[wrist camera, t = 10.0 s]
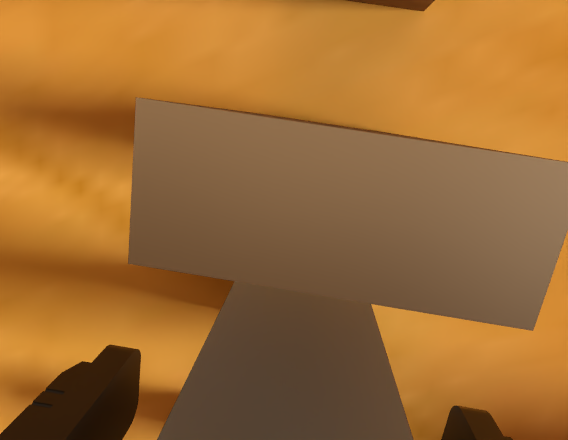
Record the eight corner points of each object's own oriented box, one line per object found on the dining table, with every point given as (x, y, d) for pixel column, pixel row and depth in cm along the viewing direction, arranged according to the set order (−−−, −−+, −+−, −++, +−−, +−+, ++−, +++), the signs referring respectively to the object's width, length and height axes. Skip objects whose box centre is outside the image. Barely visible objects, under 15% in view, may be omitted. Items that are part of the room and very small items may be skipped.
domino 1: (258, 113, 14) (136, 97, 4) (397, 134, 14) (589, 165, 4) (251, 168, 15) (128, 263, 5) (385, 189, 14) (532, 330, 5)
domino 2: (241, 268, 16) (122, 510, 6) (366, 289, 15) (456, 575, 6) (235, 313, 16) (117, 604, 6) (356, 334, 16) (422, 666, 6)
